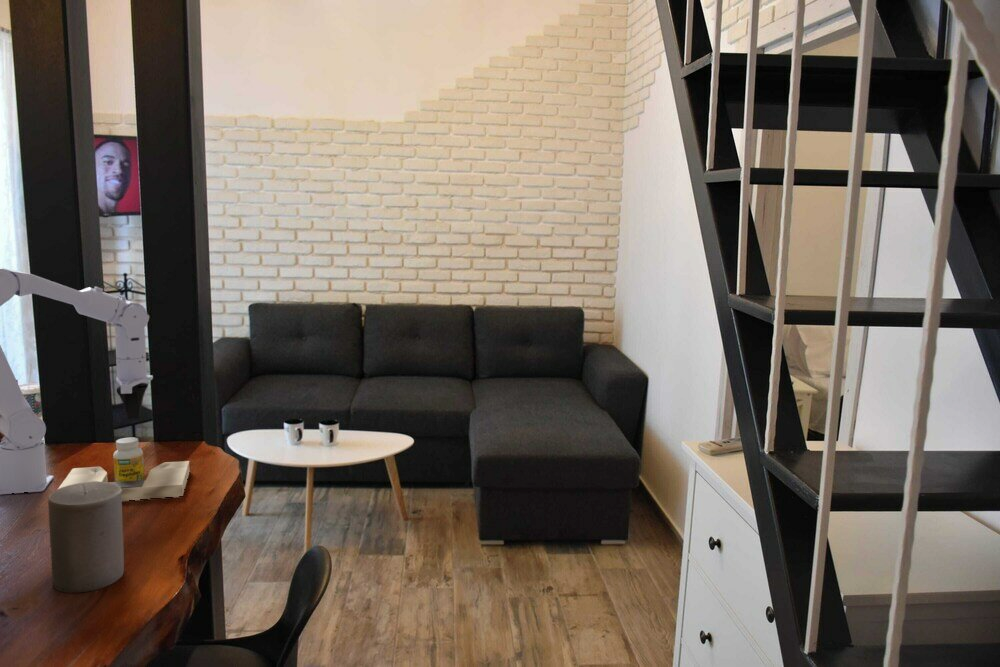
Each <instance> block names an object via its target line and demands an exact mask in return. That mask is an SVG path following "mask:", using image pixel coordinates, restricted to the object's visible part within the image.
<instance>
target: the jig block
mask: <svg viewBox="0 0 1000 667" xmlns="http://www.w3.org/2000/svg"><path fill="white" fill-rule="evenodd" d="M190 470H191V469H190V460H184V461H183V460H182V461H166V462H162V463H160V464H158V465H156V466H154V467H153V468H151V469H150V470H149V472H148V475H147V476H146V479H145V480H137V481H123V482H115V481H112V482H111V481H109V480H108V472H107V471H106V470H105V469H104V468H102V467H101V466H88V467H75V468H74V467H73V468H72V469H71V470H70V472H69V473H68V474H67V475H66V478H64V479H63V481H62V483H61V484H60V485H59V487H58V488H57V489H59V488H62V487H65V486H68V485H73V484H77V483H84V482H91V481H100V482H110V483H114V484H117V485H118V486H121V489H122V492H121V496H122V502H130V501H129V500H135V501H141V500H140V499H148V500H151V499H150V498H161V499H166V498H165V497H173V498H180V497H179V496H184V492H185V490H186V487H187V484H188V480H187V479H189V475H190V473H189V472H190ZM184 489H185V490H184Z"/></svg>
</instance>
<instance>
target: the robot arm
mask: <svg viewBox="0 0 1000 667" xmlns="http://www.w3.org/2000/svg"><path fill="white" fill-rule="evenodd" d="M103 290H104V289H103V288H102V287H98V286H94V288H93V287H91V286H89V287H85V288H83V289H81V290H78V289H75V288H72V287H69V286H67V285H63V284H60V283H58V282H56V281H51V280H50V279H47V278H44V277H42V276H38V275H36V274H32V273H29V272H25V271H20V270H14V269H10V268H4V267H2V268H1V267H0V307H1V306H3V305H4V304H5V303H7V302H8V301H10V300H11V299H12V298H13V297H14V296H18V297H24V296H27V295H32V294H34V295H38V296H42V297H45V298H49V299H52V300H55V301H59V302H63V303H65V304H69V305H73V307H74V308H75V311H76V312H77V313H78V314H79V315H83V316H86V317H89V318H92V319H95V320H99V321H102V322H106V323H108V324H111V323H112V324H114V328H115V329H114V334H115V335H114V337H115V338H114V339H115V341H114V342H115V359H116V360H115V363H116V378H115V380H116V383H117V384H118V385H119V386H117V388H116V390H115V391H116V393H117V395H118V397H119V398H120V400H121V401H122V404H123V408H124V410H125V413H126V417H127V419H128V420H134V419H135V420H137V419H139V418H140V417H141V414H142V413H141V411H142V405H143V401H144V400H143V399H144V396H145V393H146V391H147V388H148V387H149V383H146V381H147V382H148V381H152V380H153V379H154V376H153V374H152V375H151V374H150V375H149V374H147V373H148V371H147V355H146V354H147V350H146V348H147V346H146V334H145V333H146V332H145V331H146V329H145V327H146V326H147V325H148V322H149V320H150V315H149V314H148V312H147V311H148V310H147V309H146V307H144V305H142V304H141V303H138V302H135V301H130V300H129V299H127V297H126V296H122V295H119V296H117V295H114V294H111V293H107V292H104V291H103ZM3 350H4V349H3V348H2V345H0V433H1V434H2V435H4V436H3V437H2V438H1V441H0V495H12V493H14V494H25V493H24V492H28V493H39V492H44V490H45V489H46V488H47V487H48V485H49V484H50V483H51V482H52V481H53V479H54V475H47V467H46V465H47V464H46V453H45V452H46V450H45V436H46V435H45V434H46V433H47V432H46V431H47V426H46V423H45V421H44V420H43V419H42V418H40V417H39V416H37V415H36V414H35V413H34V411H33V408H32V407H31V405H30V403H29V402H28V401H27V399H26V397H25V395H24V394H23V392H22V390H21V387H20V385H19V383H18V381H17V379H16V376H15V374H14V372H13V369H12V367H11V366H10V363H9V361H8V359H7V356H6V355H5V352H4V351H3Z"/></svg>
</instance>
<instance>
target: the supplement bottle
mask: <svg viewBox="0 0 1000 667" xmlns="http://www.w3.org/2000/svg"><path fill="white" fill-rule="evenodd" d="M139 445H140V444H139V438H137V437H133V436H132V437H131V436H129V437H122V438H119V439H117V440H116V441H115V447H116V449H117V450H115V451H114V452H113V454H112V455H113V456H112V457H113V473H114V482H123V481H137V480H146V479H145V463H144V451H143V450H142V448H141V447H139Z"/></svg>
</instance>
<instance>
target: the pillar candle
mask: <svg viewBox="0 0 1000 667" xmlns="http://www.w3.org/2000/svg"><path fill="white" fill-rule="evenodd" d="M110 482H111V481H108V482H100V481H91V482H84V483H77V484H73V485H68V486H65V487H62V488H59V487H58V488H59V489H58V488H57V489H55V490H54V491H53V492H51V493H50V494H49V496H48V500H47V501H48V502H47V503H48V525H49V540H50V541H49V544H50V560H51V574H52V576H51V577H52V581H51V582H52V587H53V588H54V589H55V590H57V591H58V592H62V593H67V594H71V593H72V594H73V593H77V594H79V593H86V592H92V591H97V590H101V589H102V588H105V587H108V586H110V585H112V584H114V583H115V582H117V581H119V579H121V578H122V577H123V575H124V572H125V558H124V556H125V554H124V527H123V525H124V524H123V504H122V503H123V501H122V496H121V492H122V489H121V486H118V485H117V484H114V483H110Z"/></svg>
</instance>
